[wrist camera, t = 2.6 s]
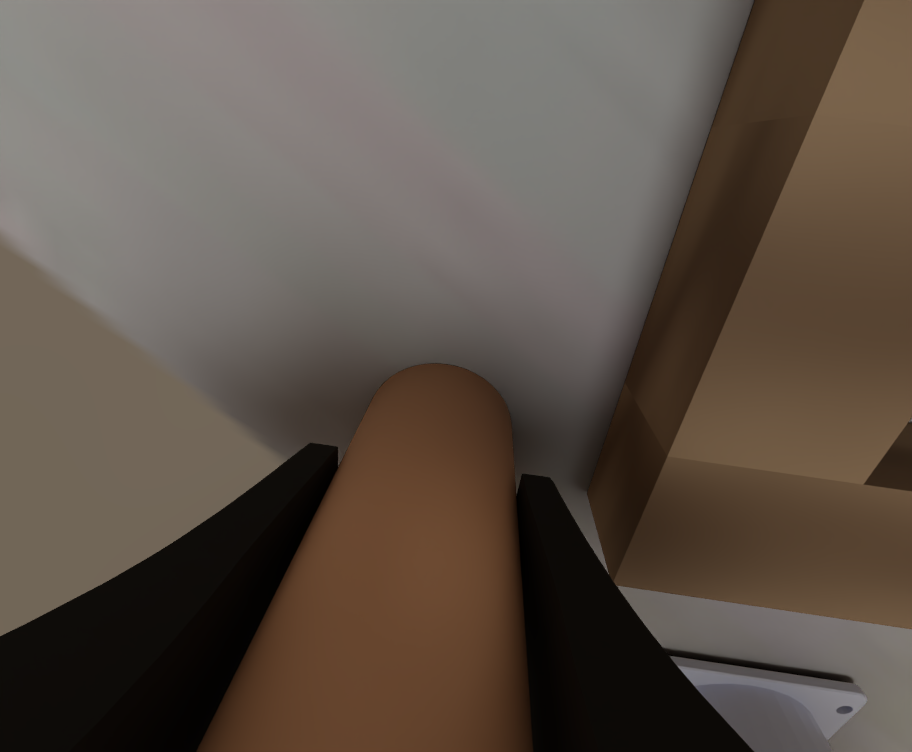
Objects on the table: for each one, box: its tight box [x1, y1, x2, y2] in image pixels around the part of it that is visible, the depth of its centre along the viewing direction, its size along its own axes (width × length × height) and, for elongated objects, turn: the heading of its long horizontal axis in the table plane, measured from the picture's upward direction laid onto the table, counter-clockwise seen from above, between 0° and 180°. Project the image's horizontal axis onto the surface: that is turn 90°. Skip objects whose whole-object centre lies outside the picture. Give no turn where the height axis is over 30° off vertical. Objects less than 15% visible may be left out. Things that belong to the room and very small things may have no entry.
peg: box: [196, 364, 533, 752], centre depth 8 cm, size 4×4×9 cm
